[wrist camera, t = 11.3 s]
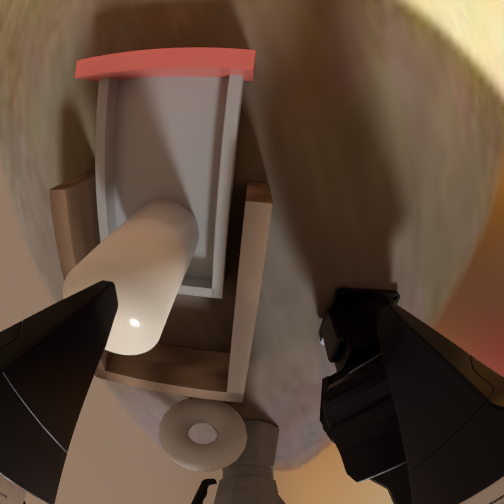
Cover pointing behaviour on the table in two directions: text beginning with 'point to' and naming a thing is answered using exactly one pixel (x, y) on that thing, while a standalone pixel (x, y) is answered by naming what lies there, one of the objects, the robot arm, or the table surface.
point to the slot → (163, 356)
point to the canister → (141, 271)
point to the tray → (171, 142)
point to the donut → (203, 455)
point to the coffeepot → (249, 470)
